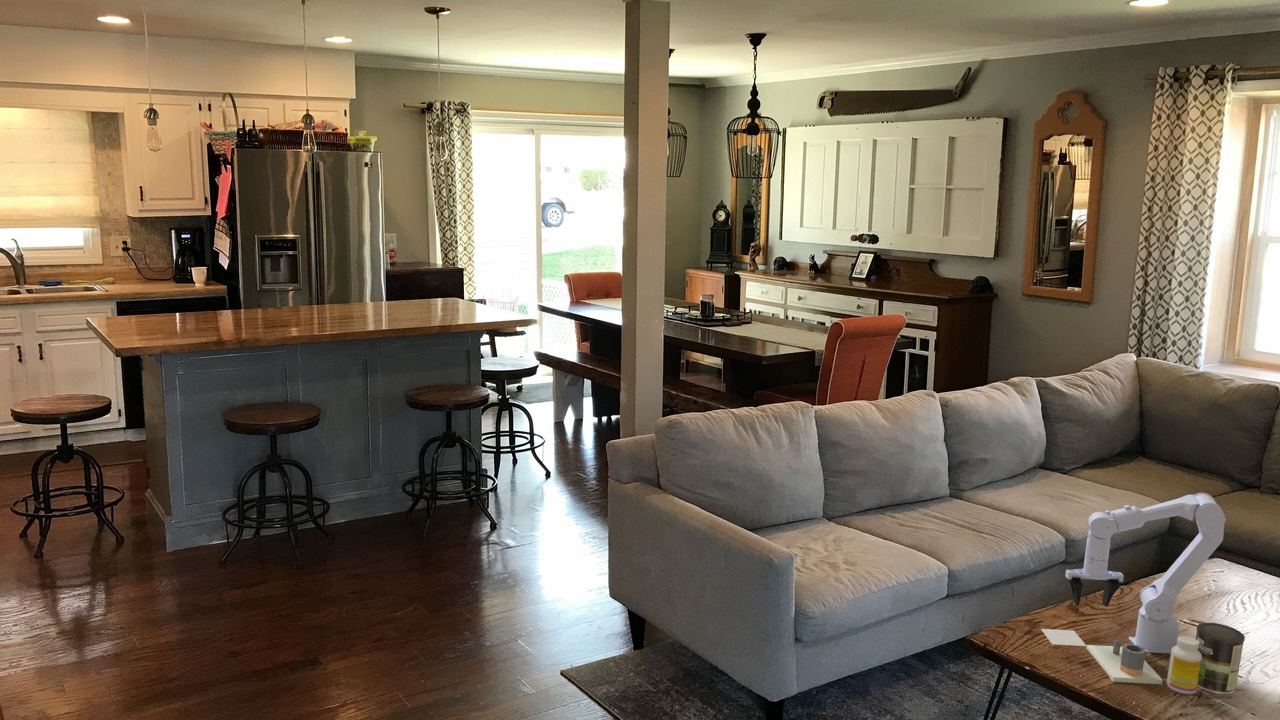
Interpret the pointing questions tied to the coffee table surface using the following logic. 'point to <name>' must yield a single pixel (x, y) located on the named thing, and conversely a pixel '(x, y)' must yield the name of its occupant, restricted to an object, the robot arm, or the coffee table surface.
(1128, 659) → the sleeve
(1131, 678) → the pin board
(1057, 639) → the pad
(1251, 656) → the coffee table surface
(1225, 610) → the coffee table surface
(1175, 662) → the supplement bottle
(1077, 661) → the coffee table surface
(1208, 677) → the coffee can
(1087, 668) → the coffee table surface
